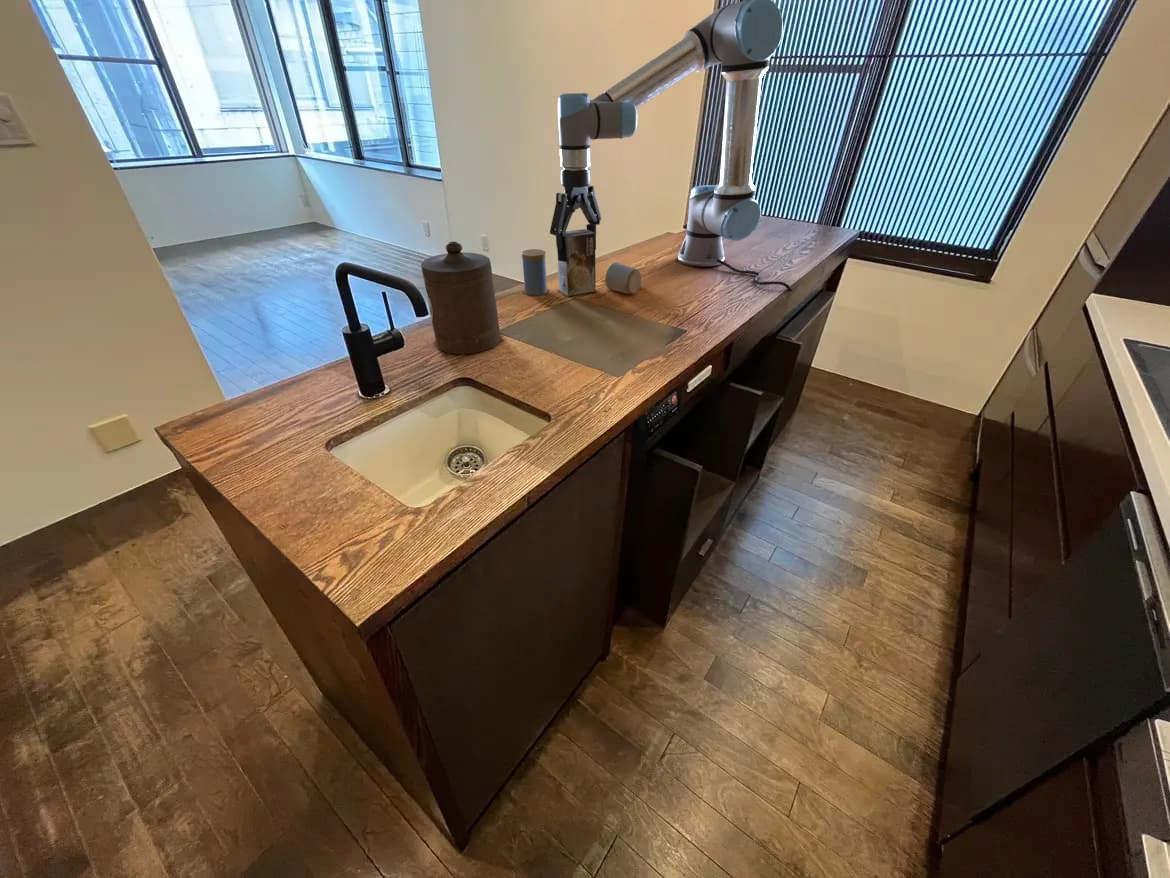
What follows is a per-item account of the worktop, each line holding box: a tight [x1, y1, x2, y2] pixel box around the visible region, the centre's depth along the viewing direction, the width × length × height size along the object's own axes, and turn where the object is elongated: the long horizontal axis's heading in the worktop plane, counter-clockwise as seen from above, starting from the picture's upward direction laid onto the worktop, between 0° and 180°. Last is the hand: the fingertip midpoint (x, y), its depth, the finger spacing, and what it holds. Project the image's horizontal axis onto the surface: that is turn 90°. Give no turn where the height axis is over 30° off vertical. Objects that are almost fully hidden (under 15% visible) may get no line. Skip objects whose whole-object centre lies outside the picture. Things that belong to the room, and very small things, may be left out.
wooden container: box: [420, 241, 501, 355], centre depth 106 cm, size 15×15×22 cm
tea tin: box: [520, 248, 548, 296], centre depth 137 cm, size 7×7×11 cm
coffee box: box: [556, 228, 597, 297], centre depth 135 cm, size 9×6×16 cm
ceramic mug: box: [604, 261, 643, 295], centre depth 138 cm, size 11×8×8 cm
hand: (577, 254), depth 134 cm, fingers open, 13 cm apart
